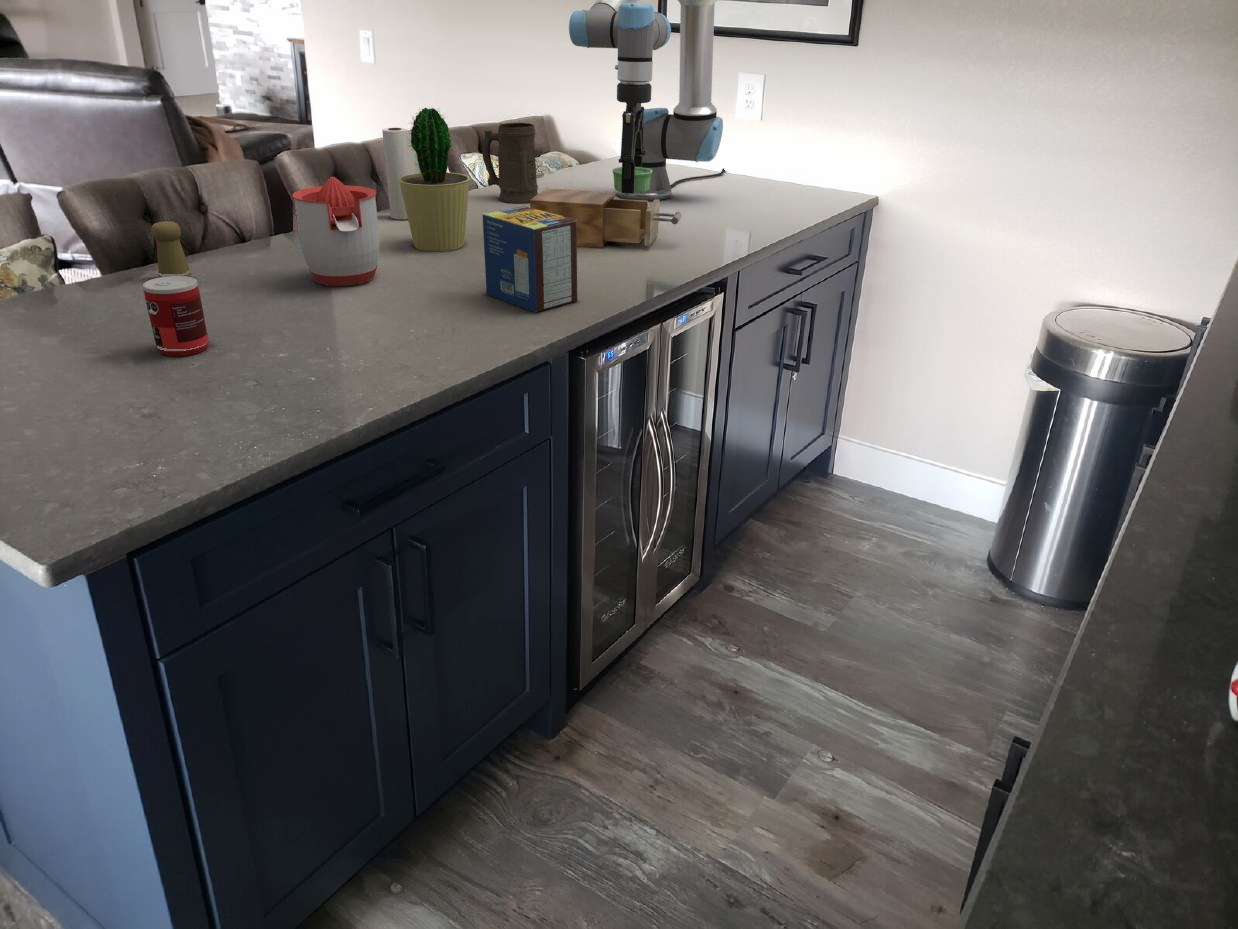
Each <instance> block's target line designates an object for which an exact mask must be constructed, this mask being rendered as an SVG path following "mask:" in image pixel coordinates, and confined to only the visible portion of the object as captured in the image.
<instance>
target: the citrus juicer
mask: <svg viewBox="0 0 1238 929" xmlns="http://www.w3.org/2000/svg"><path fill="white" fill-rule="evenodd" d="M376 195H377V191H376V190H375V189H373V188H370V187H367V186H360V185H348V184H347V185H346V184H344V183H343V182H342V181H341V180H339V179H338V178H337V177H335V176H330V177H329V178H328V179H327V180H326V181H325V182H324V184H323V185H322V186H321V185H320V186H313V187H307V188H302V189H298V190H297V191H294V192H293V193H292V195H291V197H292V198H293V200H294V209H295V214H296V223H297V229H298V235H299V242H300V246H301V251H302V254H303V257H304V260H305V263H306V265H307V267H308V270H309V272H310V275H311V276H312V278H313V279H314V281H315V282H317V283H319V284H322V285H326V286H328V287H338V286H351V285H358V284H365V283H369V282H370V281H371V280H372V279H374V278H375V275H376V273H377V269H378V262H379V261H378V260H379V256H380V255H379V254H380V229H379V222H378V221H379V220H378V210H377V209H378V208H377V201H376Z"/></svg>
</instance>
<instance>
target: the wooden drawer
mask: <svg viewBox="0 0 1238 929" xmlns="http://www.w3.org/2000/svg"><path fill="white" fill-rule="evenodd" d="M660 201H661V200H656V199H655V200H652V202H651V204H650V205H649V201H643V200H631V199H626V198H614V199H611V200H610V201H609V202H608V203H607V204H606V205H605V206H604V207H603V241H607V242H614V243H615V242H617V243H632V244H640V242H641V241H642V240H643V238H644V247H650V246H651V245H652V243H653V242H654V240H655V239H656V237H657V236H658V235H659V226H660V225H659V224H660V222H668V223H671V224H672V225H677V224H678V223H679V221H680V220H681V218H682V212H680V211H676V212H675V213H668V212H667V213H666V212H660ZM666 217H667V218H666Z"/></svg>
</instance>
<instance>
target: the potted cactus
mask: <svg viewBox="0 0 1238 929" xmlns="http://www.w3.org/2000/svg"><path fill="white" fill-rule="evenodd" d="M444 116H445V114H444V113H441V110H440V108H438V107H437V108H434V107H431V106H429V108H427V107H425V106H424V107H420V110H419V111H418V113H417V114H415V116H414V115H411V118H412V119H411V122H409V125H410V128H409V130H411V140H410V141H411V144H412V145H411V146H412V147H413V148H412V149H413V150H415V152H416V157H417V160H418V164H419V165H418V164H417V163H416V164H417V165H418V166H419V168H420V173H415V174H409V175H405V176H402V177H400V178H399V181H400V187H401V191H402V195H403V200H404V204H405V208H406V213H407V217H408V219H407V221H408V224H409V229H410V234H411V238H412V243H413V246H414V248H415V249H418V250H420V251H427V252H447V251H454V250H459V249H461V248H462V247H464V245H465V238H466V227H467V225H466V224H467V215H468V214H467V213H468V201H469V191H470V190H469V189H470V181H471V177H470V176H469V175H467V174H464V173H458V172H448V170H450V169H451V167H449V163H450V162H449V157H450V158H453V155H451V154H450V150H451V151H454V150H453V149H452V147H453V145H452V142H453V141H454V140H455V138H453V135H452V134H453V133H455V131H452V132H449V131H450V130H449V129H450V127H449V125H448V123H447V122H446V121H445V119H446V118H447V116H445V117H444ZM411 125H412V126H411ZM408 133H409V132H408ZM409 134H410V133H409ZM451 138H453V139H451ZM408 141H409V140H408ZM409 143H410V142H409ZM411 146H408V147H411ZM412 149H411V150H412ZM415 162H416V161H415ZM451 162H454V161H452V160H451ZM414 166H415V165H414ZM416 168H417V167H416Z"/></svg>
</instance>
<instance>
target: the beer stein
mask: <svg viewBox="0 0 1238 929" xmlns="http://www.w3.org/2000/svg"><path fill="white" fill-rule="evenodd" d="M535 137H536V129H535V124H533V123H528V122H508V123H501V124H499V125H498V129H497V132H494V131H492V130H491V129H485V130H484V139H483V143H482V149H481V150H482V153H481V154H482V159H483V163H484V166H485V168H486V170H487V173H488V179H487V185H488V186H489V187H491V186H497V187H499V191H500V192H499V200H500V201H501V202H504V203H510V204H530V200H531V199H532V198H534V197H535V196H536V195H538V194H539V193H538V188H539V185H538V181H537V161H536V146H535V145H536V144H535V142H536V141H535V139H536V138H535ZM493 141H496V142H498V150H497V151H498V152H497V160H498V161H497V162H498V176H497V174H496V171H495V168H494V165H493V162H492V157H491V144H492V142H493Z"/></svg>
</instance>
